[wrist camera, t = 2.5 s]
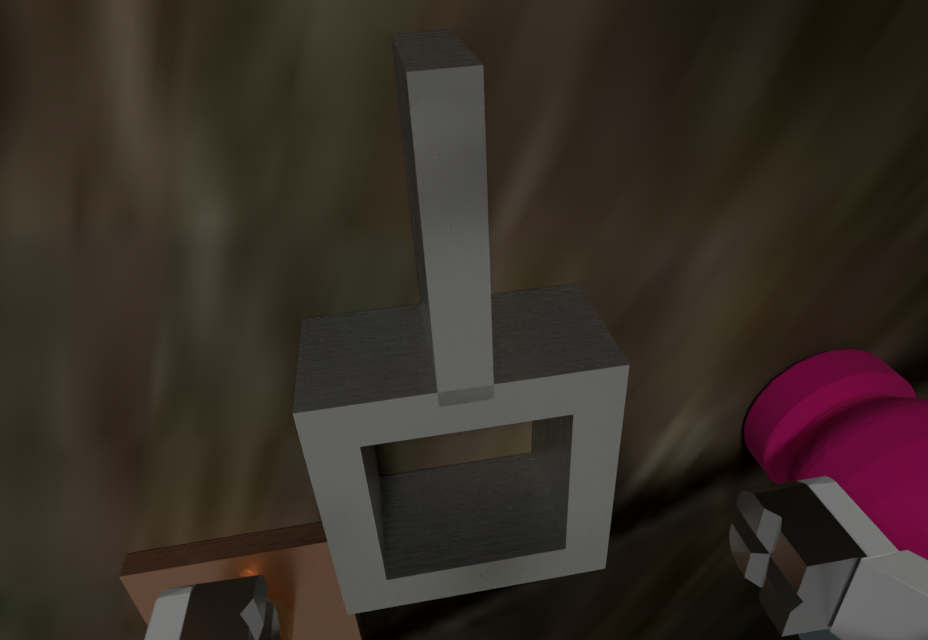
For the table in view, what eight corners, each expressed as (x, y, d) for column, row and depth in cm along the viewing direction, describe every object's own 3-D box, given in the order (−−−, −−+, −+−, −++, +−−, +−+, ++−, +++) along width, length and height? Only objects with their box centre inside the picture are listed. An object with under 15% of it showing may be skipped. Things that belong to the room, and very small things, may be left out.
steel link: (238, 47, 15) (205, 90, 12) (592, 17, 16) (666, 48, 13) (346, 509, 25) (347, 615, 21) (567, 473, 26) (605, 568, 22)
